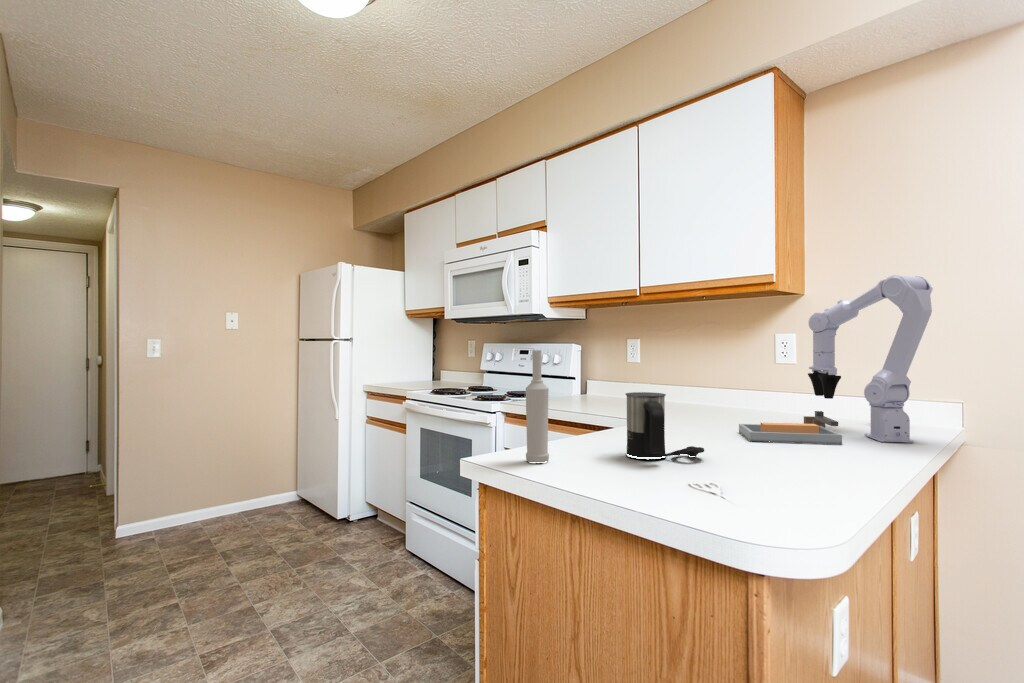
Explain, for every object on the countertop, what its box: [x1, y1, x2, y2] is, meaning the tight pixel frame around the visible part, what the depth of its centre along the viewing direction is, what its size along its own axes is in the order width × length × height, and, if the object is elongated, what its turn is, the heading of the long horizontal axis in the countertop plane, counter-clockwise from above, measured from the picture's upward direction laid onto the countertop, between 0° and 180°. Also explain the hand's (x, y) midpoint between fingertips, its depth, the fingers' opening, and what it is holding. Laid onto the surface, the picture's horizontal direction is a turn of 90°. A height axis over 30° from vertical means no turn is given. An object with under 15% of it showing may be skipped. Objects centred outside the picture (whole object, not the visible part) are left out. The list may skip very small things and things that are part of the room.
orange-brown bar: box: [760, 422, 819, 434], centre depth 145 cm, size 4×14×3 cm, turn 79°
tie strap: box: [814, 410, 839, 427], centre depth 148 cm, size 12×2×2 cm, turn 168°
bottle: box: [525, 349, 550, 462], centre depth 118 cm, size 5×5×25 cm
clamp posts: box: [803, 415, 826, 428], centre depth 157 cm, size 9×3×3 cm, turn 168°
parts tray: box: [738, 423, 843, 445], centre depth 144 cm, size 14×22×2 cm, turn 78°
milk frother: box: [625, 391, 705, 457], centre depth 121 cm, size 14×16×15 cm
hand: (823, 397), depth 160 cm, fingers open, 7 cm apart
